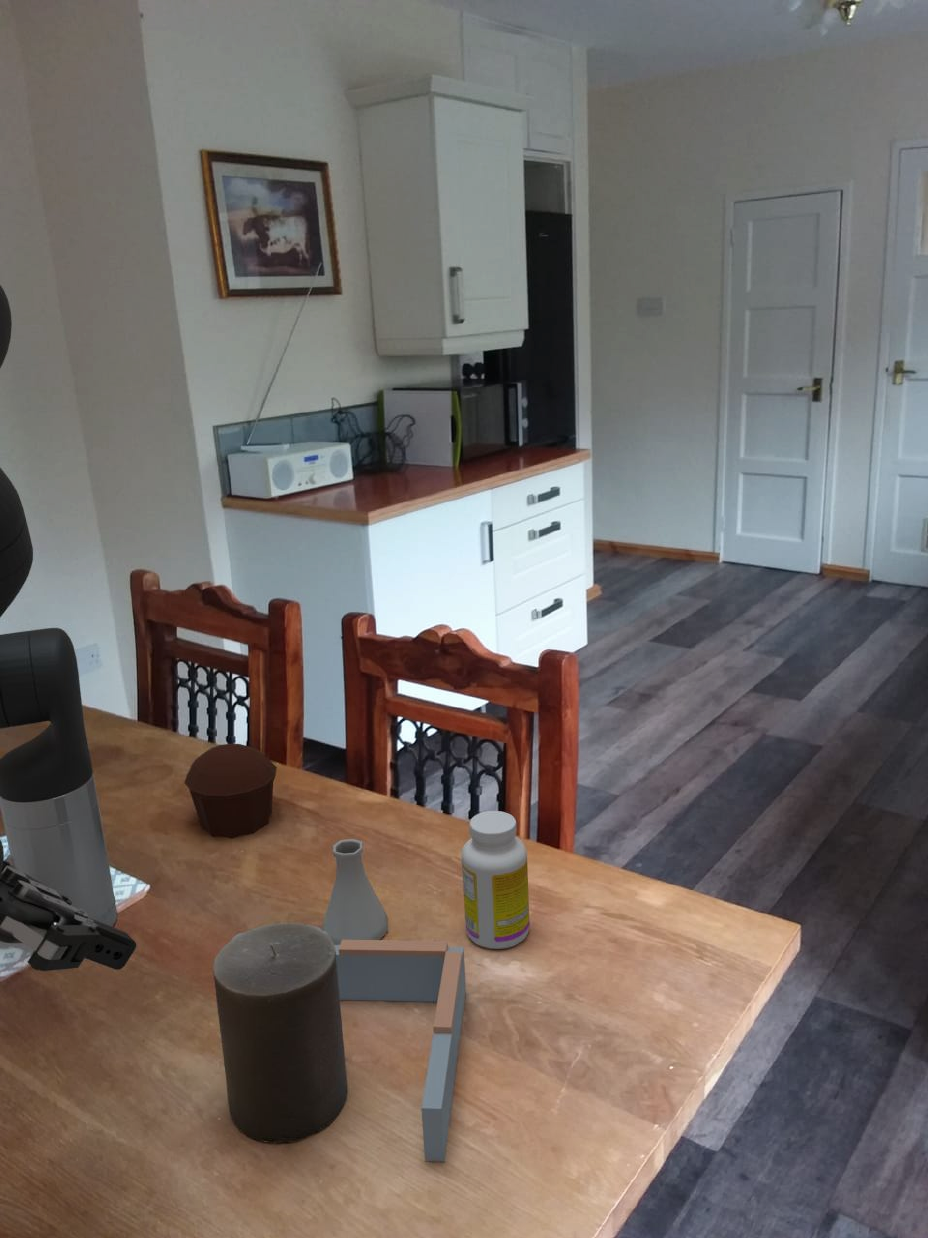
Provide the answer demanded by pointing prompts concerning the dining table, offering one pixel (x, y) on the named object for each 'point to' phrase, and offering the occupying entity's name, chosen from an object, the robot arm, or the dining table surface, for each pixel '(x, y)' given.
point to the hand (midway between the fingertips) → (125, 952)
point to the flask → (353, 899)
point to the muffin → (232, 790)
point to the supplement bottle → (495, 882)
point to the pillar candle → (281, 1031)
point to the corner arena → (417, 978)
